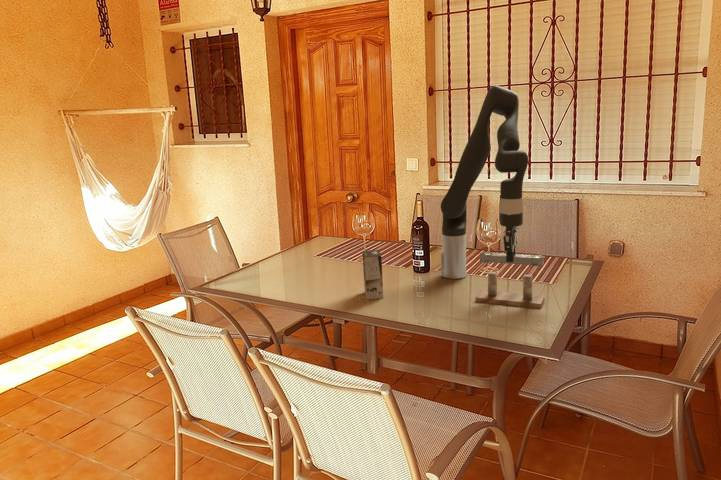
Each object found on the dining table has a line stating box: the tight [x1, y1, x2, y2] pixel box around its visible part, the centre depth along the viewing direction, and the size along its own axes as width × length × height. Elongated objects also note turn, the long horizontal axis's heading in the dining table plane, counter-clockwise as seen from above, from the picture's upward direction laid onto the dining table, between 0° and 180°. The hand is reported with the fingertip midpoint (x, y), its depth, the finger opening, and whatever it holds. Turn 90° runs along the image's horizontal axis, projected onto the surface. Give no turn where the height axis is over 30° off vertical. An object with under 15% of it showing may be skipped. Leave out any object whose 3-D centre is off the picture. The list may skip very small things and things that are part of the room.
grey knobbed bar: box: [479, 251, 545, 267], centre depth 199 cm, size 21×4×2 cm, turn 65°
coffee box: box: [362, 249, 384, 300], centre depth 214 cm, size 9×6×16 cm
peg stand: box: [475, 271, 545, 309], centre depth 202 cm, size 22×8×10 cm, turn 65°
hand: (510, 260), depth 199 cm, fingers closed on grey knobbed bar, 3 cm apart
